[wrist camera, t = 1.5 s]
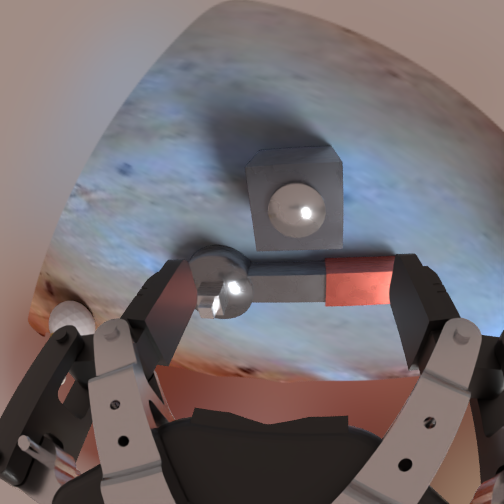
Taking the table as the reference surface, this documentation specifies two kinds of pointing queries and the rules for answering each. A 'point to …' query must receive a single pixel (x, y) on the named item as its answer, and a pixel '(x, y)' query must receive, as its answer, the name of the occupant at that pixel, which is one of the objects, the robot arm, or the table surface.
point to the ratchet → (285, 281)
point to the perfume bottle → (72, 318)
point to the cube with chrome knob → (296, 198)
